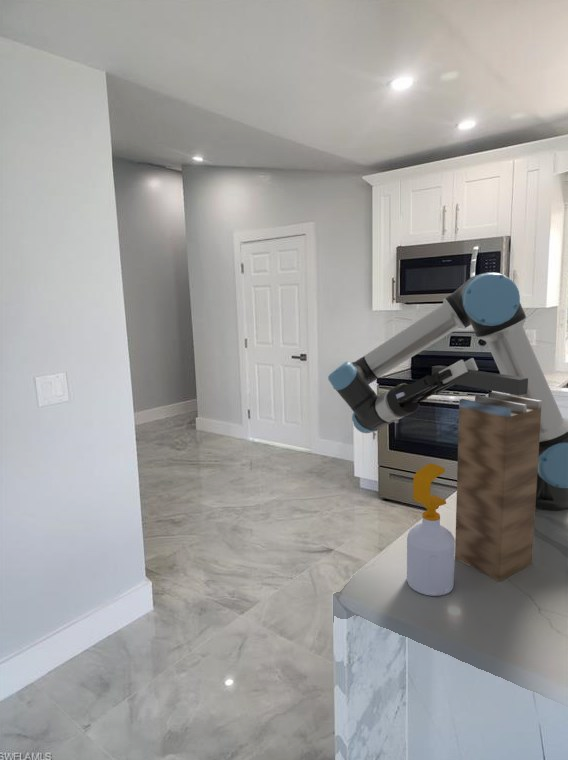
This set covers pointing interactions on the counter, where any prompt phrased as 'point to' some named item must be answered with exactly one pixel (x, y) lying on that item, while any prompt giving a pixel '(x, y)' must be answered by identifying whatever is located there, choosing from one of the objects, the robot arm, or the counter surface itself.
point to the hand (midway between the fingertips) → (469, 364)
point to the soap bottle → (430, 541)
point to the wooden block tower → (497, 482)
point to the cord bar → (489, 381)
